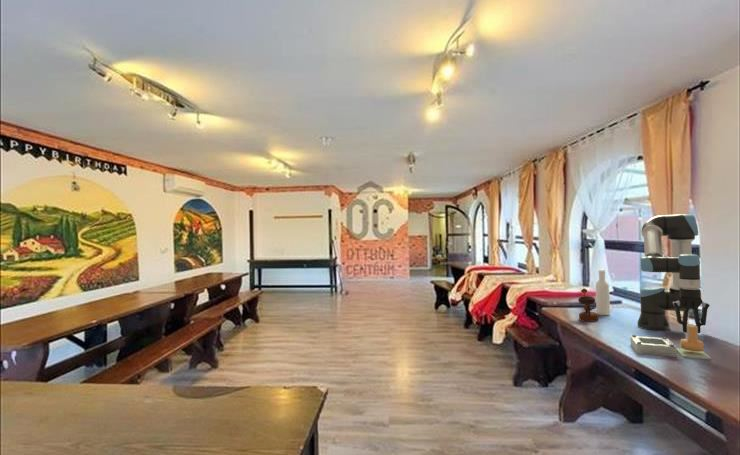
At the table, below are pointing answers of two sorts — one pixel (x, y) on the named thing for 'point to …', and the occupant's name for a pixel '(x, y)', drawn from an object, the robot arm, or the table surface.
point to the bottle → (602, 295)
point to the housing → (653, 346)
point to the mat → (692, 354)
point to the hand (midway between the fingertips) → (691, 339)
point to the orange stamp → (692, 340)
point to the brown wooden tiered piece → (587, 308)
